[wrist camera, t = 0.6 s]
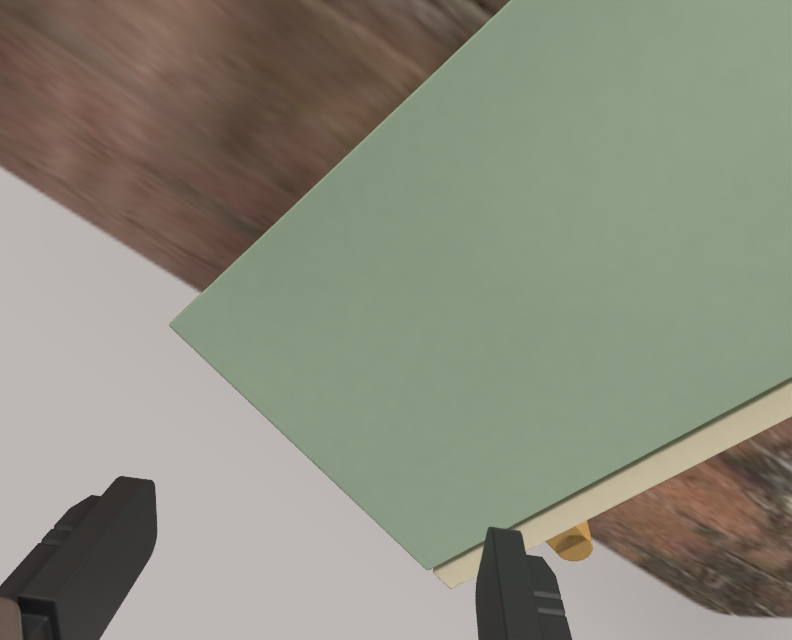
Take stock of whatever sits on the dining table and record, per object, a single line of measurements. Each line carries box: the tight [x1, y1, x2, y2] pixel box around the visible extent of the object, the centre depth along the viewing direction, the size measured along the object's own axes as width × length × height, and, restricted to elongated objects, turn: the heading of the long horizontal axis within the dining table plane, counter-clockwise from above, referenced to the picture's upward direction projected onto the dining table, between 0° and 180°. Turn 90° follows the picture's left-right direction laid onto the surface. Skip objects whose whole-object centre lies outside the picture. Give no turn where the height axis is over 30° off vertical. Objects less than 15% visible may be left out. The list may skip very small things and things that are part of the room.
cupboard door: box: [433, 377, 792, 589], centre depth 26 cm, size 7×18×19 cm, turn 132°
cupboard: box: [169, 0, 792, 570], centre depth 24 cm, size 12×18×20 cm
